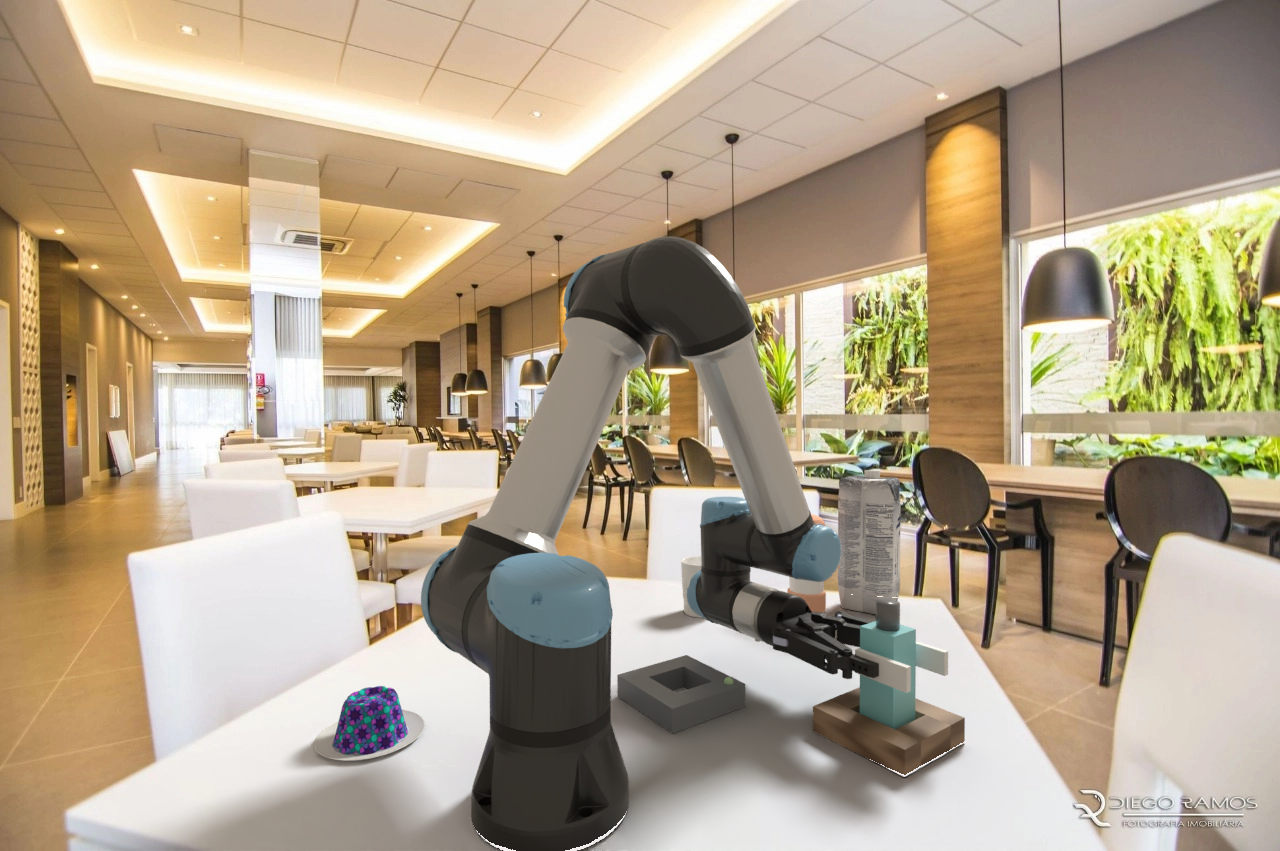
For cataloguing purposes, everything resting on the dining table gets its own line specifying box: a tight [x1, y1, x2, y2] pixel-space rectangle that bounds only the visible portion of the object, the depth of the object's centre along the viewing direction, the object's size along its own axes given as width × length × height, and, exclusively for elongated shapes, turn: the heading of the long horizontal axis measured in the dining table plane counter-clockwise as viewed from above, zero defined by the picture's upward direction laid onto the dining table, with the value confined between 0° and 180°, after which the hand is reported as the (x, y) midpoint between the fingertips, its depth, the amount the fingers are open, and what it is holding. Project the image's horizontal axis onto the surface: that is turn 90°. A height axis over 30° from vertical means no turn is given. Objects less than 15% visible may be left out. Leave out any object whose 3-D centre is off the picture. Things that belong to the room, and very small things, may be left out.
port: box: [616, 654, 746, 734], centre depth 83 cm, size 12×12×4 cm
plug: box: [859, 599, 917, 730], centre depth 74 cm, size 4×4×16 cm
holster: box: [812, 686, 966, 775], centre depth 74 cm, size 12×12×3 cm
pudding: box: [314, 685, 426, 762], centre depth 74 cm, size 12×12×5 cm
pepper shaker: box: [786, 511, 827, 613], centre depth 123 cm, size 7×7×19 cm
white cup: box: [680, 555, 704, 619], centre depth 121 cm, size 8×8×10 cm
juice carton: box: [837, 469, 901, 616], centre depth 123 cm, size 9×10×27 cm
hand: (927, 671), depth 70 cm, fingers open, 7 cm apart
